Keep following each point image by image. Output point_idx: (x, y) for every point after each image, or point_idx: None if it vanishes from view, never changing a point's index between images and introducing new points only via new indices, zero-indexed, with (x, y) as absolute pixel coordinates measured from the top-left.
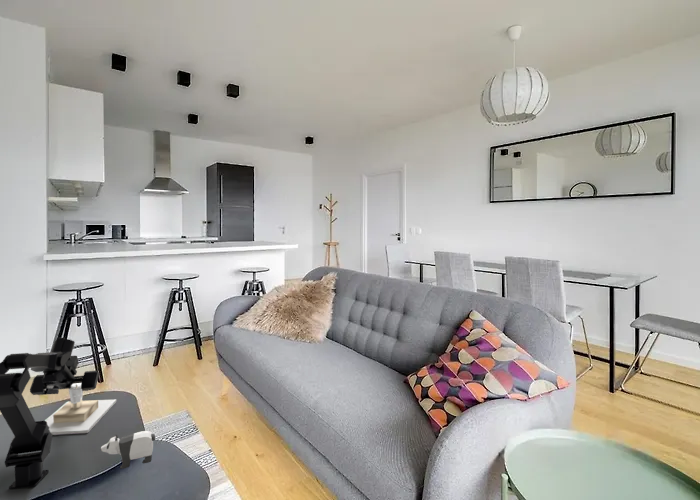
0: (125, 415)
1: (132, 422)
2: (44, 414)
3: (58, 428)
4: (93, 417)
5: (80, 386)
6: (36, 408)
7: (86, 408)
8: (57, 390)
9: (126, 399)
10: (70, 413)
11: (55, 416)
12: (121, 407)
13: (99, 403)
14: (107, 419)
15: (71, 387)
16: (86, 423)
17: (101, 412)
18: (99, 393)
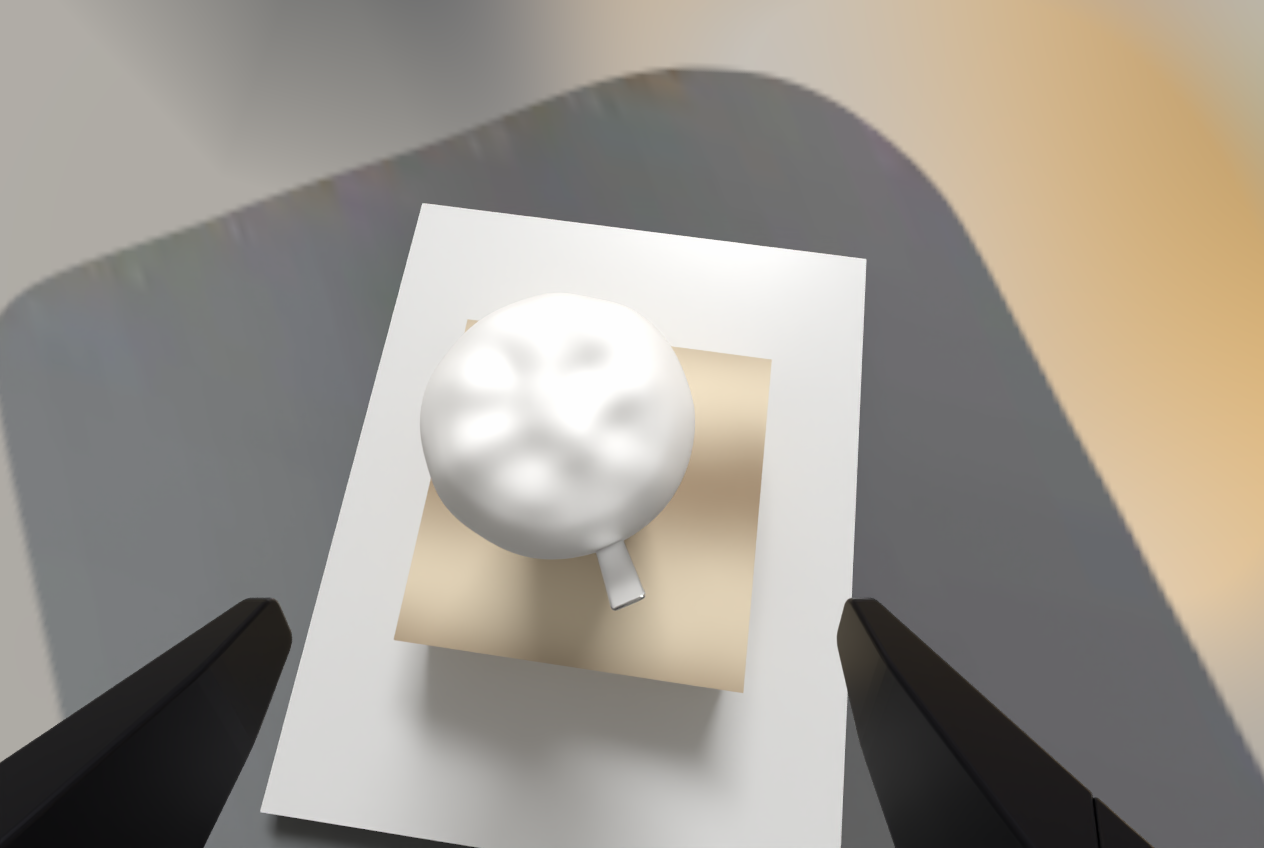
0: (1061, 579)
1: (1204, 761)
2: (292, 372)
3: (515, 773)
4: (787, 605)
5: (668, 486)
6: (196, 242)
7: (718, 552)
8: (228, 688)
9: (931, 245)
10: (578, 648)
11: (423, 643)
12: (949, 396)
13: (733, 308)
14: (912, 623)
15: (497, 525)
16: (765, 732)
17: (826, 508)
18: (642, 83)
